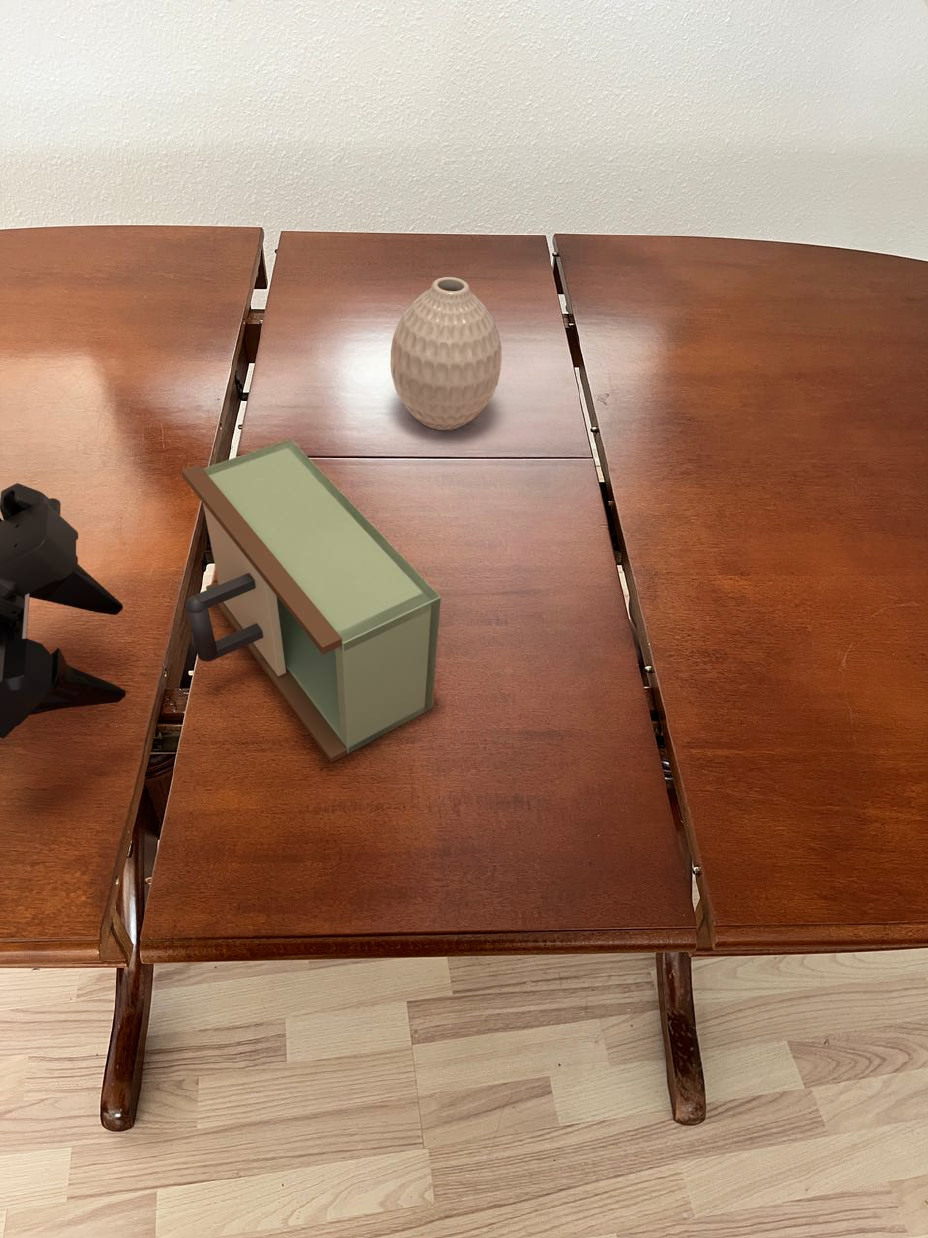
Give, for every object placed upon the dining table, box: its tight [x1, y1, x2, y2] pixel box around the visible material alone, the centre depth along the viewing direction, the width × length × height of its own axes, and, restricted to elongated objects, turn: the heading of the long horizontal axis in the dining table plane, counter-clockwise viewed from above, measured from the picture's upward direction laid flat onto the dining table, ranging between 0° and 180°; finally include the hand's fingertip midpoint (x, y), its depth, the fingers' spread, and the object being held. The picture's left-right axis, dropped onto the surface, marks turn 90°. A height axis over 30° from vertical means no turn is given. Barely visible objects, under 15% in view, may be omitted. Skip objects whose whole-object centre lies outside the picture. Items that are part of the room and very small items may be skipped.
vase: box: [390, 276, 503, 431], centre depth 99 cm, size 13×13×17 cm
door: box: [185, 503, 286, 676], centre depth 72 cm, size 6×11×12 cm, turn 36°
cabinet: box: [180, 438, 442, 764], centre depth 73 cm, size 10×23×15 cm, turn 36°
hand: (121, 651), depth 68 cm, fingers open, 9 cm apart
